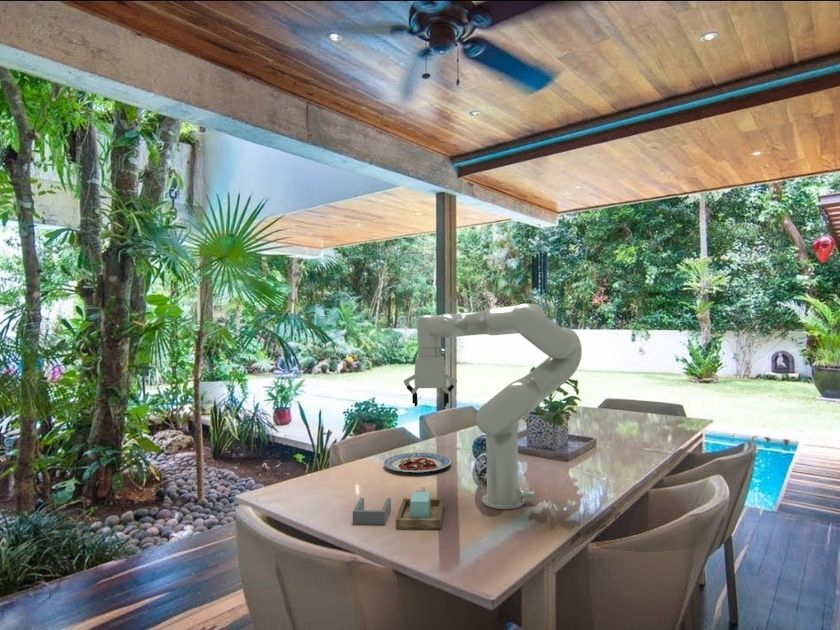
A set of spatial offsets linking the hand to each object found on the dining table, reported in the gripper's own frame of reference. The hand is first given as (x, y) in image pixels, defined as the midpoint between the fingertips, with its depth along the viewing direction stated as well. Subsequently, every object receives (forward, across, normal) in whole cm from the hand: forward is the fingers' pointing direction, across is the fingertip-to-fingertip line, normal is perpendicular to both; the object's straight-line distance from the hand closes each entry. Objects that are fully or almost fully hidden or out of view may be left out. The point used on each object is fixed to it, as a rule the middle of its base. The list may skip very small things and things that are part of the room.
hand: (430, 405), depth 166 cm
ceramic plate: (+29, +8, -30) cm, 42 cm away
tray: (+28, +2, +20) cm, 35 cm away
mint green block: (+28, +2, +20) cm, 34 cm away
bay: (+28, +16, +20) cm, 38 cm away
